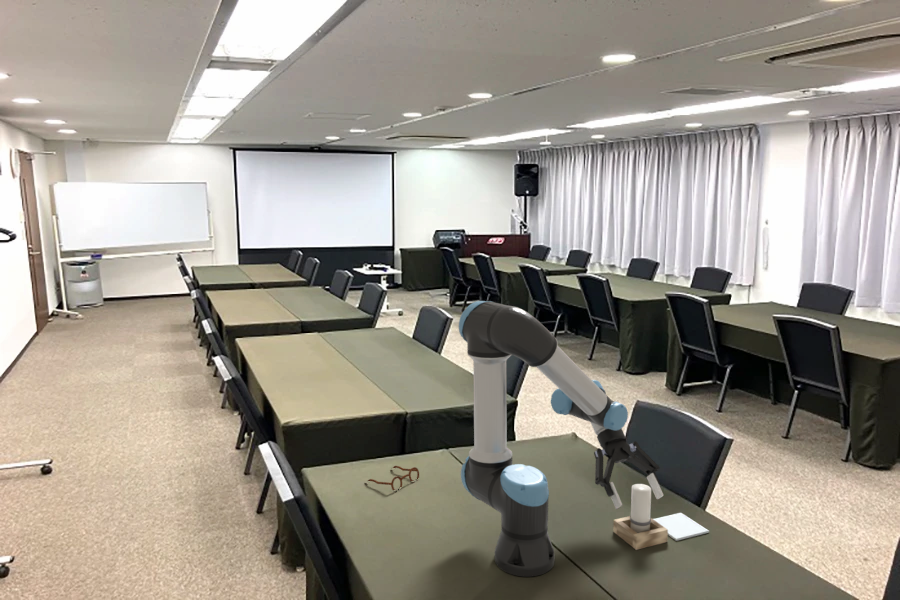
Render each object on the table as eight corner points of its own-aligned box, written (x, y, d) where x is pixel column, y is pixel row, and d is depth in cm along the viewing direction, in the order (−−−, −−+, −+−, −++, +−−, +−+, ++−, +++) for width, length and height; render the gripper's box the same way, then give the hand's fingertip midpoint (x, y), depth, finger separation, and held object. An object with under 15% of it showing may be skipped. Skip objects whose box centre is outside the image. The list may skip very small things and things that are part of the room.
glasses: (393, 495, 202) (393, 480, 201) (363, 484, 210) (363, 470, 209) (420, 480, 212) (419, 466, 211) (390, 471, 220) (390, 457, 219)
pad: (676, 540, 172) (676, 538, 171) (649, 521, 182) (649, 519, 182) (708, 532, 175) (708, 530, 175) (680, 514, 186) (680, 512, 185)
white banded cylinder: (637, 543, 170) (639, 494, 168) (625, 534, 175) (626, 485, 173) (654, 539, 172) (656, 490, 170) (641, 530, 177) (643, 482, 175)
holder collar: (636, 549, 168) (636, 537, 167) (613, 531, 177) (613, 519, 176) (667, 541, 171) (667, 529, 171) (643, 524, 180) (643, 512, 180)
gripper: (637, 430, 194) (669, 498, 182) (566, 443, 185) (595, 515, 173) (649, 418, 188) (683, 488, 177) (576, 432, 179) (607, 506, 168)
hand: (640, 502), depth 175 cm, fingers open, 13 cm apart
